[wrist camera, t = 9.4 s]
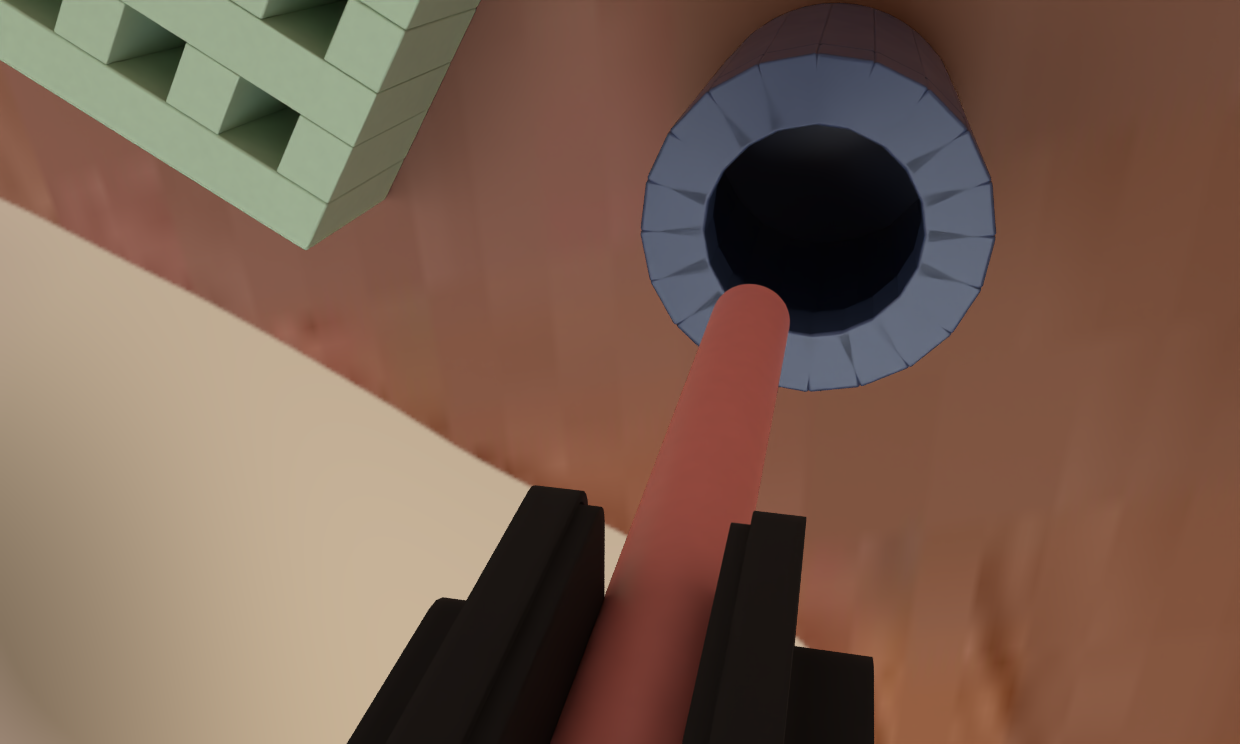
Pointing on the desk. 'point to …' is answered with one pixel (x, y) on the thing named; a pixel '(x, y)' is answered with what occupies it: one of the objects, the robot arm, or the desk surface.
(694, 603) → the straw
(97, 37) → the rack
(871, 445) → the desk surface
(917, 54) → the tumbler
